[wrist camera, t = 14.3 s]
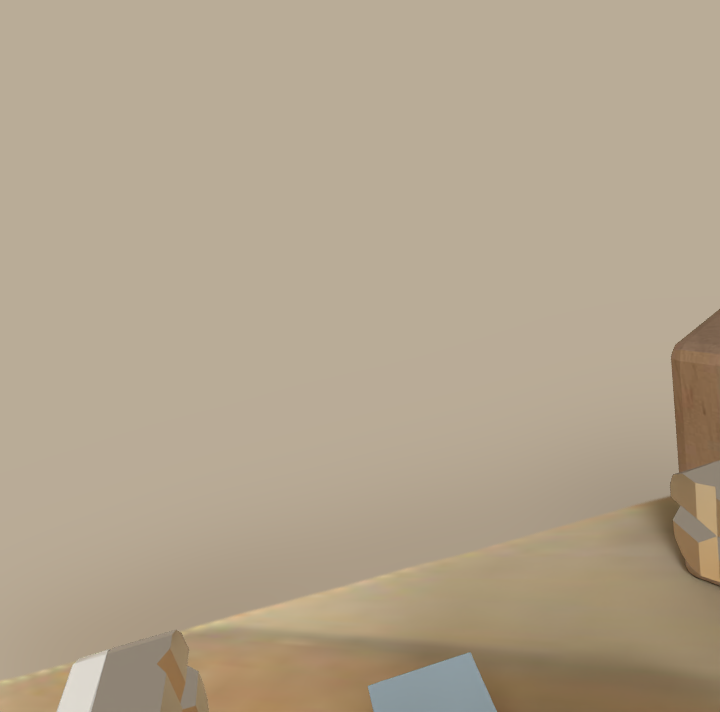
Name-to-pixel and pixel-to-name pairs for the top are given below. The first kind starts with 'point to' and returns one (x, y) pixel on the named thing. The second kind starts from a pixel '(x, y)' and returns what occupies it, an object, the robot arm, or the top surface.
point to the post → (434, 689)
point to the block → (698, 399)
